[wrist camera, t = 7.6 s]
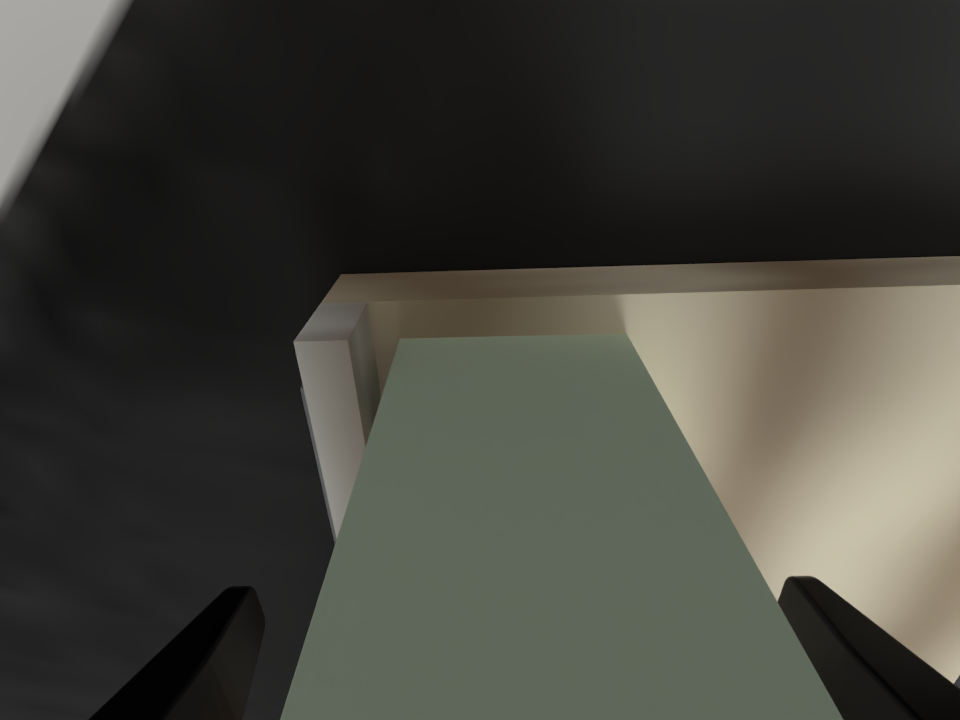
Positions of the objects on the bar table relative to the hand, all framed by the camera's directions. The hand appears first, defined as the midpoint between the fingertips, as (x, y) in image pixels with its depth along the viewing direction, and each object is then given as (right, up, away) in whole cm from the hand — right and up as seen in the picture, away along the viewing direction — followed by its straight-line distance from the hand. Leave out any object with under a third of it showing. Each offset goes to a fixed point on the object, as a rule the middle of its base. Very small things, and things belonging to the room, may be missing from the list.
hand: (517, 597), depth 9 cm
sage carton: (0, +1, +2) cm, 2 cm away
